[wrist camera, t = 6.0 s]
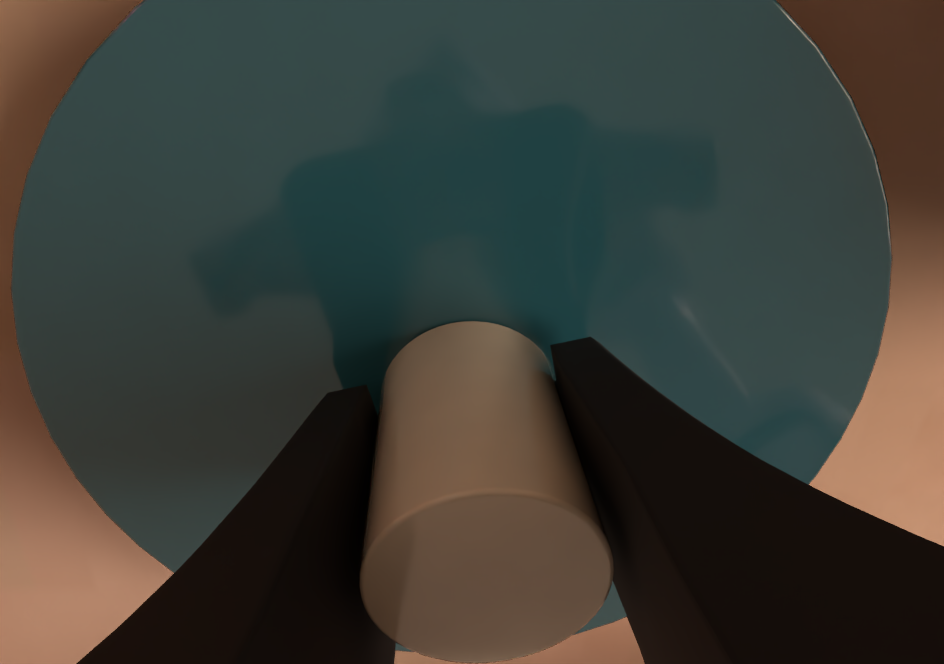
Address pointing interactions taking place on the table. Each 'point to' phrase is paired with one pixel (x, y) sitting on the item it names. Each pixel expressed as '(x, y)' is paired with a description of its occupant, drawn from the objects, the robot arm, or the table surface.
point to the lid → (443, 271)
